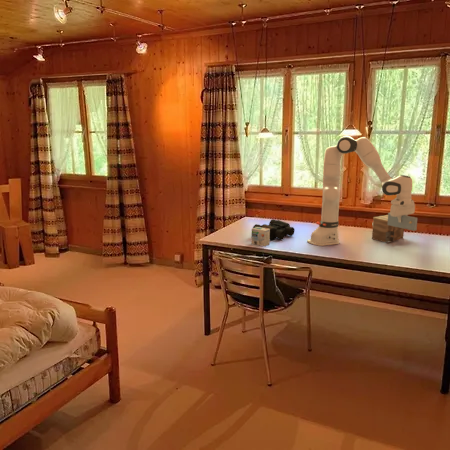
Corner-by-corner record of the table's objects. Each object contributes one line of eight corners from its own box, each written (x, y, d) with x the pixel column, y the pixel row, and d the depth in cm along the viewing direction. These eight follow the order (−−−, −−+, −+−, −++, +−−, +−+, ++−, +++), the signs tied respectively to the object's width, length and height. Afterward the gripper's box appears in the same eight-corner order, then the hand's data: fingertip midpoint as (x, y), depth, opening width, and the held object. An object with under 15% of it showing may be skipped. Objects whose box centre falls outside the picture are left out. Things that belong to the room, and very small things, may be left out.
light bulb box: (250, 244, 296) (251, 228, 294) (256, 241, 302) (256, 226, 299) (264, 246, 290) (265, 230, 288) (269, 244, 296) (270, 228, 293)
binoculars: (273, 229, 334) (275, 217, 331) (297, 236, 321) (298, 223, 318) (251, 237, 312) (252, 223, 309) (275, 244, 300) (276, 230, 297)
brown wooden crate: (388, 243, 296) (390, 221, 293) (370, 238, 309) (372, 217, 305) (407, 239, 307) (409, 218, 303) (389, 234, 319) (390, 214, 315)
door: (416, 230, 278) (417, 217, 276) (412, 231, 276) (413, 218, 275) (389, 224, 295) (390, 212, 293) (386, 225, 293) (387, 213, 291)
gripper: (409, 198, 290) (407, 219, 293) (389, 201, 279) (387, 223, 283) (418, 199, 285) (416, 220, 288) (397, 203, 274) (395, 224, 277)
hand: (401, 221), depth 285 cm, fingers closed on door, 2 cm apart
